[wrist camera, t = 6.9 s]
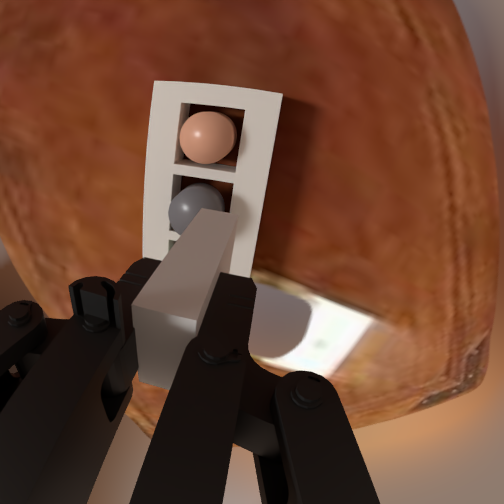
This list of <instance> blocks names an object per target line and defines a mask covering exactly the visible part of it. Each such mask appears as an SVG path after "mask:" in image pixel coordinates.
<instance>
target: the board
mask: <svg viewBox="0 0 504 504" xmlns="http://www.w3.org/2000/svg"><path fill="white" fill-rule="evenodd" d="M282 97H283V94H280V93H275V92H268V91H262V90H256V89H248V88H241V87H233V86H224V85H214V84H203V83H190V82H173V81H154V88H153V96H152V103H151V112H150V121H149V130H148V141H147V153H146V167H145V183H144V206H143V258H144V257H147V258H152V259H156V260H161V261H162V260H163V259H164V258H165V256H166V255H167V253H168V252H169V251H170V249H171V248H172V247H173V245H174V244H175V243H176V241H177V240H178V239H179V237H180V236H181V235H179V234H178V233H177V232H176V231H175V230H174V229H173V227H172V226H171V224H170V221H169V216H168V210H169V206H170V203H171V201H172V200H173V199H174V197H175V196H177V195H178V194H179V193H180V190H181V179H182V175H184V176H191V177H197V178H204V179H211V180H217V181H223V182H229V183H234V186H233V193H232V200H231V207H230V213H232V214H237V215H239V216H238V222H237V228H236V234H235V241H234V247H233V253H232V259H231V266H230V272H229V274H233V275H238V276H243V277H248V278H250V275H251V269H252V264H253V258H254V253H255V247H256V242H257V236H258V231H259V225H260V220H261V214H262V209H263V203H264V198H265V192H266V186H267V181H268V175H269V170H270V164H271V159H272V153H273V147H274V142H275V136H276V131H277V125H278V120H279V114H280V108H281V103H282ZM190 103H193V104H203V105H213V106H221V107H229V108H237V109H244V110H245V115H244V121H243V127H242V134H241V140H240V146H239V153H238V159H237V166H236V167H234V166H228V165H222V164H215V163H211V164H200V163H197V162H194V161H192V160H187V159H184V152H183V150H182V148H181V145H180V131H181V128H182V126H183V124H184V123H185V122H186V120H187V119H188V117H189V110H190Z"/></svg>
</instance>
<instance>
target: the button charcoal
mask: <svg viewBox="0 0 504 504" xmlns="http://www.w3.org/2000/svg"><path fill="white" fill-rule="evenodd" d="M201 208H205V209H210V210H216V211H221V212H224V211H225V204H224V200H223V197H222V195H221V194H220V192H219V191H218V190H217V189H216V188H215V187H213V186H211V185H209V184H206V183H194V184H191V185H189V186H187V187H186V188H185V189H184V190H182V191H181V192H180V193H179V194H178V195H177V196H175V197H174V199H173V200H172V201H171V203H170V206H169V210H168V216H169V221H170V224H171V226H172V227H173V229H174V230H175V231H176V232H177V233H178V234H179V235H181V234H182V233H183V232H184V231H185V229H186V228H187V227H188V225H189V224H190V223H191V221H192V220H193V219H194V217H195V216H196V215H197V213H198V212H199V211H200V210H201Z"/></svg>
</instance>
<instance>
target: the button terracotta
mask: <svg viewBox="0 0 504 504" xmlns="http://www.w3.org/2000/svg"><path fill="white" fill-rule="evenodd" d="M236 140H237V130H236V127H235V124H234V123H233V121H232V120H231V119H230V118H229V117H228V116H226V115H225V114H223V113H220V112H200V113H197V114H194V115H192V116H191V117H189V118H188V119H187V120H186V122H185V123H184V124H183V126H182V128H181V131H180V145H181V148H182V150H183V152H184V153H185V155H186V156H187V157H188V158H190V159H191V160H192V161H194V162H197V163H200V164H211V163H215V162H217V161H219V160H221V159H222V158H223V157H225V156H226V155H227V154H228V153H230V152H231V150H232V149H233V148H234V146H235V144H236Z"/></svg>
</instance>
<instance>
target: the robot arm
mask: <svg viewBox="0 0 504 504" xmlns="http://www.w3.org/2000/svg"><path fill="white" fill-rule="evenodd" d="M238 216H239V215H237V214H232V213H227V212H221V211H216V210H210V209H205V208H201V210H200V211H199V212H198V213H197V215H196V216H195V217H194V219H193V220H192V221H191V223H190V224H189V225H188V227H187V228H186V229H185V231H184V232H183V233H182V234H181V236H180V237H179V239H178V240H177V241H176V243H175V244H174V245H173V247H172V248H171V249H170V251H169V252H168V253H167V255H166V256H165V258H164V259H163V260H162V261H161V260H156V259H152V258H147V257H144V258H142V259H140V260H138V261H136V262H134V263H133V264H132V265H131V266H130V267H129V269H128V270H127V271H126V273H125V274H123V276H122V277H121V278H120V280H119V281H118V282H117V283H115V282H114V281H113V280H110V279H108V278H105V277H98V276H93V277H85V278H82V279H79V280H76V281H74V282H73V283H72V284H70V285H69V292H70V297H71V303H72V308H73V313H74V315H73V316H72V317H71V318H70V319H53V318H44V314H43V310H42V308H41V307H40V306H39V304H37V303H35V302H32V301H26V300H22V301H17V302H14V303H12V304H10V305H8V306H6V307H5V308H3V309H2V310H0V504H87V501H88V499H89V496H90V494H91V491H92V489H93V486H94V484H95V481H96V479H97V476H98V474H99V471H100V469H101V466H102V464H103V461H104V459H105V457H106V455H107V452H108V449H109V447H110V445H111V443H112V440H113V438H114V436H115V433H116V431H117V429H118V426H119V424H120V422H121V420H122V417H123V415H124V413H125V411H126V408H127V406H128V404H129V402H130V400H131V397H132V393H133V387H132V380H133V378H134V376H135V374H136V372H137V370H138V376H139V381H140V382H143V383H147V384H150V385H154V386H157V387H161V388H164V389H168V390H169V393H168V396H167V398H166V401H165V404H164V407H163V409H162V412H161V415H160V417H159V420H158V423H157V426H156V428H155V431H154V434H153V437H152V440H151V443H150V445H149V448H148V451H147V454H146V456H145V460H144V462H143V465H142V468H141V471H140V474H139V477H138V480H137V482H136V486H135V488H134V491H133V494H132V497H131V500H130V503H129V504H222V503H223V497H224V491H225V485H226V480H227V474H228V469H229V463H230V457H231V451H232V446H233V443H234V444H236V445H238V446H240V447H242V448H244V449H247V450H249V451H251V452H253V457H254V462H255V468H256V474H257V479H258V485H259V490H260V496H261V502H262V504H380V502H379V499H378V497H377V494H376V491H375V488H374V486H373V483H372V480H371V478H370V475H369V473H368V470H367V467H366V465H365V462H364V459H363V457H362V454H361V452H360V449H359V446H358V444H357V441H356V439H355V436H354V434H353V431H352V428H351V426H350V423H349V421H348V418H347V416H346V413H345V411H344V408H343V406H342V403H341V401H340V398H339V396H338V393H337V391H336V390H335V388H334V387H333V385H332V384H331V383H330V382H329V381H328V380H327V379H325V378H324V377H323V376H321V375H318V374H316V373H313V372H309V371H295V372H290V373H288V374H286V375H285V376H283V377H280V376H278V375H275V374H273V373H271V372H269V371H267V370H265V369H263V368H262V367H260V366H259V365H258V364H257V363H256V362H255V361H254V360H253V358H252V357H251V356H250V353H249V350H248V341H249V335H250V329H251V322H252V316H253V309H254V303H255V297H256V291H257V288H256V286H255V284H254V282H253V280H252V278H248V277H243V276H238V275H233V274H229V272H230V266H231V259H232V253H233V247H234V241H235V234H236V228H237V222H238ZM14 364H15V366H16V368H17V370H18V372H16V373H14V374H13V373H10V372H9V370H8V369H10V368H11V367H12V366H13V365H14Z"/></svg>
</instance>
